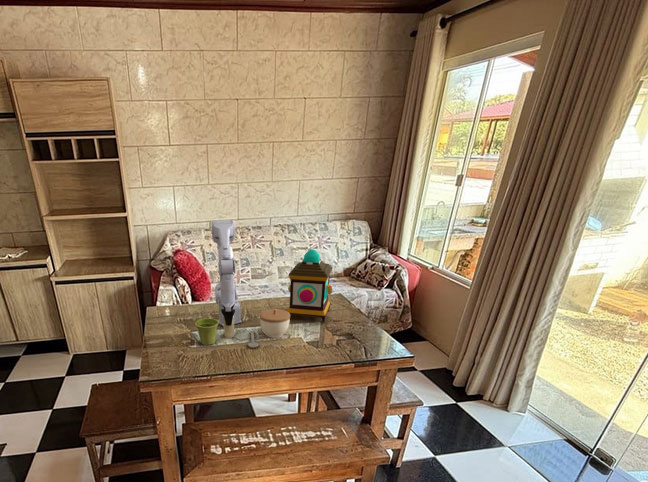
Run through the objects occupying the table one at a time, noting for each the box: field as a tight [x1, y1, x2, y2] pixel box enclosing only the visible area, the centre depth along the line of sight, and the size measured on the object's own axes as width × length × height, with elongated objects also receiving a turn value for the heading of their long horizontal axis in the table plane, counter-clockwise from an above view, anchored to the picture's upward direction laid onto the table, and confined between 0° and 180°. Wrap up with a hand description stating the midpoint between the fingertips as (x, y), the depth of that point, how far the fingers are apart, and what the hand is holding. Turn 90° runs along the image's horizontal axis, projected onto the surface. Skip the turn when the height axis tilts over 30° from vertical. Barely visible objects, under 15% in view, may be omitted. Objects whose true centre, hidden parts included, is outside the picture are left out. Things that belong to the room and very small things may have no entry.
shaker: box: [223, 315, 236, 339], centre depth 170 cm, size 5×5×9 cm
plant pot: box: [194, 317, 219, 346], centre depth 165 cm, size 9×9×9 cm
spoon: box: [247, 331, 260, 349], centre depth 167 cm, size 15×4×1 cm, turn 179°
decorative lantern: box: [286, 248, 334, 324], centre depth 183 cm, size 20×20×30 cm
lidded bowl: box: [259, 308, 291, 339], centre depth 169 cm, size 13×13×11 cm
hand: (228, 321), depth 169 cm, fingers open, 7 cm apart
